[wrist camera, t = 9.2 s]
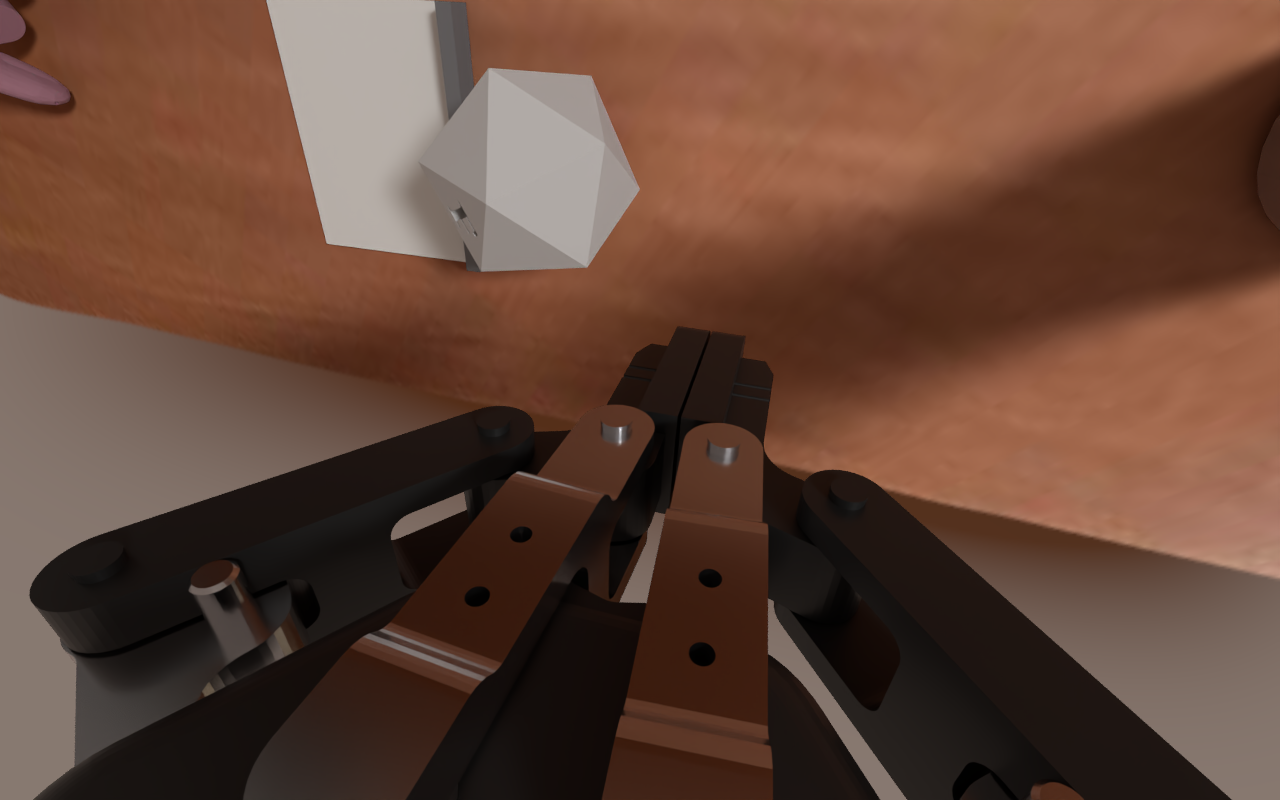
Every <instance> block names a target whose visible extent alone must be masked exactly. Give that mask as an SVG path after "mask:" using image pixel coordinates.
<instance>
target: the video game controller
mask: <svg viewBox="0 0 1280 800" xmlns="http://www.w3.org/2000/svg"><path fill="white" fill-rule="evenodd" d="M25 29H26V27H25V23H24V20H23V19H22V17H21V16H20V14H19V13H18V12H17V11H16V10H15V8H14V7H13V6H12V5H11V4H10V3H9V2H8V0H0V44H2V43H8V42H13V41H16V40H18V39H20V38H21V37H22V36H23V35H24V33H25ZM0 93H2V94H5V95H9V96H12V97H15V98H18V99H22V100H25V101H29V102H33V103H37V104H44V105H61V104H65V103H67V102H69V101H70V98H71V95H70V92H69V90H68V89H67V88H66V87H65V86H64V85H63V84H61V83H60V82H59V81H58V80H56V79H55V78H53V77H52V76H50V75H48V74H47V73H45V72H43V71H41V70H39V69H37V68H35V67H33V66H31V65H29V64H27V63H25V62H23V61H20V60H18V59H16V58H14V57H11V56H9V55H7V54H4V53H2V52H0Z"/></svg>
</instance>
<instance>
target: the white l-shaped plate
mask: <svg viewBox="0 0 1280 800" xmlns="http://www.w3.org/2000/svg"><path fill="white" fill-rule="evenodd" d="M266 1H267V5H268V9H269V13H270V17H271V21H272V25H273V29H274V33H275V37H276V41H277V45H278V49H279V53H280V57H281V61H282V65H283V69H284V73H285V77H286V81H287V86H288V90H289V94H290V98H291V102H292V106H293V110H294V114H295V118H296V122H297V126H298V130H299V134H300V138H301V142H302V146H303V150H304V154H305V158H306V162H307V166H308V170H309V174H310V178H311V182H312V186H313V190H314V194H315V198H316V202H317V206H318V210H319V214H320V218H321V222H322V226H323V230H324V234H325V238H326V242H327V244H333V245H341V246H348V247H356V248H363V249H371V250H378V251H386V252H393V253H401V254H409V255H416V256H424V257H431V258H439V259H446V260H454V261H461V262H466V268H467V271H475V272H481V270H480V269H479V267H478V265H477V263H476V262H475V260H474V258H473V256H472V255H471V253H470V251H469V250H468V248H467V246H466V244H465V243H464V241H463V239H462V237H461V236H460V234H459V232H458V230H457V229H456V227H455V225H454V223H453V222H452V220H451V218H450V216H449V215H448V213H447V211H446V209H445V208H444V206H443V204H442V202H441V201H440V199H439V197H438V196H437V194H436V192H435V190H434V189H433V187H432V185H431V183H430V182H429V180H428V178H427V176H426V175H425V173H424V171H423V169H422V168H421V166H420V164H419V162H418V161H419V159H420V158H421V157H422V156H423V154H424V153H425V152H426V150H427V149H428V148H429V146H430V145H431V144H432V142H433V141H434V140H435V138H436V137H437V136H438V134H439V133H440V132H441V130H442V129H443V128H444V126H445V125H446V124H447V123H448V121H449V120H450V119H451V117H452V116H453V115H454V113H455V112H456V111H457V109H458V108H459V107H460V105H461V104H462V103H463V101H464V100H465V99H466V97H467V96H468V95H469V93H470V92H471V91H472V90H473V88H474V83H473V73H472V63H471V52H470V42H469V32H468V21H467V11H466V3H463V2H444V1H425V0H266Z"/></svg>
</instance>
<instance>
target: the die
mask: <svg viewBox="0 0 1280 800" xmlns="http://www.w3.org/2000/svg"><path fill="white" fill-rule="evenodd" d="M418 162H419V164H420V166H421V168H422V169H423V171H424V173H425V175H426V176H427V178H428V180H429V182H430V183H431V185H432V187H433V189H434V190H435V192H436V194H437V196H438V197H439V199H440V201H441V202H442V204H443V206H444V208H445V209H446V211H447V213H448V215H449V216H450V218H451V220H452V222H453V223H454V225H455V227H456V229H457V230H458V232H459V234H460V236H461V237H462V239H463V241H464V243H465V244H466V246H467V248H468V250H469V251H470V253H471V255H472V256H473V258H474V260H475V262H476V263H477V265H478V267H479V269H480V270H481V272H482V271H509V270H535V269H561V268H587V267H588V265H589V264H590V262H591V261H592V259H593V258H594V256H595V255H596V254H597V252H598V251H599V249H600V248H601V246H602V245H603V243H604V242H605V240H606V239H607V237H608V236H609V234H610V233H611V231H612V230H613V228H614V227H615V225H616V224H617V222H618V221H619V220H620V218H621V217H622V215H623V214H624V212H625V211H626V209H627V208H628V206H629V205H630V203H631V202H632V200H633V199H634V197H635V196H636V194H637V193H638V191H639V190H640V189H639V186H638V184H637V182H636V179H635V177H634V175H633V172H632V170H631V168H630V165H629V163H628V161H627V158H626V156H625V154H624V151H623V149H622V147H621V144H620V142H619V140H618V137H617V135H616V133H615V130H614V128H613V126H612V123H611V121H610V119H609V116H608V114H607V112H606V109H605V107H604V105H603V102H602V100H601V98H600V95H599V93H598V91H597V88H596V86H595V84H594V81H593V79H592V77H591V76H586V75H573V74H560V73H547V72H534V71H521V70H508V69H494V68H488V70H487V71H486V72H485V74H484V75H483V76H482V78H481V79H480V80H479V82H478V83H477V84H476V86H475V87H474V88H473V90H472V91H471V92H470V93H469V95H468V96H467V97H466V99H465V100H464V101H463V103H462V104H461V105H460V107H459V108H458V109H457V111H456V112H455V113H454V115H453V116H452V117H451V119H450V120H449V121H448V123H447V124H446V125H445V126H444V128H443V129H442V130H441V132H440V133H439V134H438V136H437V137H436V138H435V140H434V141H433V142H432V144H431V145H430V146H429V148H428V149H427V150H426V152H425V153H424V154H423V156H422V157H421V158H420V159H419V161H418Z"/></svg>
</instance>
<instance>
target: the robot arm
mask: <svg viewBox="0 0 1280 800" xmlns="http://www.w3.org/2000/svg"><path fill="white" fill-rule="evenodd" d="M1257 183H1258V196H1259V199H1260V201H1261V204H1262V206H1263V209H1264V211H1265V214H1266V215H1267V216H1268V218H1269V219H1270V220H1271V221H1272V222H1273V223H1274V225H1275V226H1276V227H1277V228H1278V229H1279V230H1280V114H1279V116H1278V117H1277V119H1276V120H1275V122H1274V124H1273V126H1272V128H1271V130H1270V133H1269V135H1268V137H1267V139H1266V141H1265V143H1264V146H1263V148H1262V152H1261V157H1260V161H1259V166H1258V170H1257ZM744 344H745V336H740V335H734V334H727V333H721V332H714V331H713V332H712V334H711V332H710V331H707V330H700V329H693V328H687V327H680V326H678V327H677V329H676V331H675V333H674V335H673V337H672V339H671V341H670V343H669V345H668V346H663V345H656V344H650V345H649V346H647V347H645V348H644V349H642V350H640V351H639V352H637V353H636V354H635V356H634V358H633V360H632V361H631V363H630V365H629V367H628V368H627V370H626V372H625V374H624V377H622V379H621V381H620V383H619V384H618V386H617V388H616V390H615V391H614V393H613V395H612V397H611V398H610V400H609V402H608V404H607V405H605V406H600V407H597V408H594V409H592V410H590V411H588V412H587V413H585V414H584V415H583V416H582V417H581V418H580V420H579V421H578V422H577V424H576V425H575V426H574V427H573V429H572V430H568V431H549V432H534V423H533V420H532V418H531V417H530V416H529V415H528V414H527V413H526V412H524V411H522V410H520V409H517V408H513V407H507V406H492V407H486V408H481V409H478V410H475V411H472V412H469V413H466V414H463V415H460V416H457V417H454V418H451V419H448V420H445V421H442V422H439V423H436V424H432V425H429V426H426V427H423V428H420V429H417V430H415V431H411V432H408V433H405V434H402V435H399V436H396V437H393V438H391V439H387V440H384V441H381V442H378V443H375V444H372V445H369V446H366V447H363V448H360V449H357V450H354V451H351V452H348V453H345V454H342V455H339V456H336V457H333V458H330V459H327V460H324V461H321V462H318V463H315V464H312V465H309V466H306V467H303V468H300V469H297V470H294V471H291V472H288V473H285V474H282V475H279V476H276V477H273V478H270V479H267V480H264V481H261V482H258V483H255V484H252V485H249V486H246V487H243V488H240V489H237V490H234V491H231V492H228V493H225V494H222V495H219V496H216V497H212V498H209V499H207V500H203V501H201V502H197V503H194V504H191V505H189V506H185V507H183V508H179V509H176V510H173V511H170V512H167V513H164V514H161V515H158V516H155V517H152V518H149V519H146V520H143V521H140V522H137V523H134V524H131V525H128V526H125V527H122V528H119V529H117V530H113V531H110V532H107V533H104V534H101V535H98V536H96V537H93V538H90V539H88V540H86V541H83V542H81V543H79V544H77V545H75V546H73V547H72V548H70V549H68V550H67V551H65V552H63V553H62V554H60V555H59V556H58V557H56V558H55V559H54V560H52V561H51V562H50V563H49V564H48V565H47V566H45V567H44V568H43V570H42V571H41V572H40V573H39V574H38V575H37V577H36V578H35V580H34V581H33V583H32V586H31V588H30V599H31V602H32V603H33V604H34V605H35V607H36V608H37V609H38V611H39V612H40V613H41V614H42V616H43V617H44V618H45V619H46V621H47V622H48V623H49V624H50V626H51V627H52V628H53V630H54V631H55V632H56V633H57V635H58V636H59V637H60V642H61V645H62V647H63V649H64V650H65V651H66V652H67V654H68V655H69V656H70V657H71V659H72V660H73V661H74V663H75V664H76V666H77V667H76V717H75V721H76V722H75V767H74V768H72V769H70V770H69V771H68V772H66V773H65V774H64V775H63V776H61V777H60V778H59V779H57V780H56V781H55V782H53V783H52V784H51V785H49V786H48V787H47V788H46V789H45V790H44V791H42V792H41V793H40V794H39V795H38V796H37V797H36V798H35V799H34V800H880V799H879V797H878V796H877V794H876V793H875V791H874V789H873V788H872V786H871V785H870V783H869V782H868V780H867V779H866V777H865V776H864V774H863V772H862V771H861V770H860V768H859V766H858V765H857V763H856V762H855V760H854V759H853V757H852V755H851V754H850V752H849V751H848V749H847V748H846V746H845V745H844V743H843V742H842V740H841V739H840V737H839V735H838V734H837V732H836V731H835V729H834V728H833V726H832V725H831V723H830V722H829V720H828V718H827V717H826V715H825V714H824V712H823V711H822V709H821V708H820V706H819V705H818V704H817V702H816V701H815V699H814V698H813V696H812V695H811V694H810V693H809V692H808V691H807V689H806V688H805V687H804V686H803V684H802V683H801V682H800V681H799V680H798V679H797V678H796V677H795V676H794V675H793V674H792V673H791V672H790V671H789V670H788V669H787V668H786V667H785V666H783V665H782V664H781V663H780V662H778V661H777V660H776V659H775V658H773V657H772V656H770V655H769V654H768V598H769V599H771V600H773V601H774V609H775V614H776V616H777V618H778V620H779V622H780V623H781V625H782V626H783V628H784V629H785V630H786V632H787V633H788V635H789V636H790V637H791V639H792V640H793V641H794V643H795V644H796V646H797V647H798V649H799V650H800V651H801V653H802V654H803V655H804V657H805V658H806V660H807V661H808V662H809V664H810V665H811V667H812V668H813V669H814V671H815V672H816V674H817V675H818V676H819V678H820V679H821V680H822V682H823V683H824V685H825V686H826V687H827V689H828V690H829V692H830V693H831V694H832V696H833V697H834V699H835V700H836V701H837V703H838V704H839V705H840V707H841V708H842V710H843V711H844V712H845V714H846V715H847V717H848V718H849V719H850V721H851V722H852V724H853V725H854V726H855V728H856V729H857V731H858V732H859V733H860V735H861V736H862V737H863V739H864V740H865V742H866V743H867V744H868V746H869V747H870V749H871V750H872V751H873V753H874V754H875V756H876V757H877V758H878V760H879V761H880V762H881V764H882V765H883V767H884V768H885V769H886V771H887V772H888V773H889V775H890V776H891V778H892V779H893V781H894V782H895V783H896V785H897V786H898V788H899V789H900V790H901V792H902V793H903V795H904V796H905V797H906V799H907V800H1231V799H1230V798H1229V797H1228V796H1227V795H1226V794H1225V793H1224V792H1222V791H1221V790H1220V789H1219V788H1218V787H1217V786H1216V785H1215V784H1213V783H1212V782H1211V781H1210V780H1209V779H1208V778H1207V777H1206V776H1204V775H1203V774H1202V773H1201V772H1200V771H1199V770H1198V769H1197V768H1195V767H1194V766H1193V765H1192V764H1191V763H1190V762H1189V761H1188V760H1186V759H1185V758H1184V757H1183V756H1182V755H1181V754H1180V753H1179V752H1177V751H1176V750H1175V749H1174V748H1173V747H1172V746H1171V745H1169V743H1167V742H1166V741H1165V740H1164V739H1163V738H1162V737H1161V736H1160V735H1158V734H1157V733H1156V732H1155V731H1154V730H1153V729H1152V728H1151V727H1149V726H1148V725H1147V724H1146V723H1145V722H1144V721H1142V720H1141V719H1140V718H1139V717H1138V716H1137V715H1136V714H1135V713H1134V712H1133V711H1131V710H1130V709H1129V708H1128V707H1127V706H1126V705H1125V704H1123V703H1122V702H1121V701H1120V700H1119V699H1118V698H1117V697H1116V696H1115V695H1113V694H1112V693H1111V692H1110V691H1109V690H1108V689H1107V688H1106V687H1104V686H1103V685H1102V684H1101V683H1100V682H1099V681H1098V680H1097V679H1095V678H1094V677H1093V676H1092V675H1091V674H1090V673H1089V672H1088V671H1086V670H1085V669H1084V668H1083V667H1082V666H1081V665H1080V664H1079V663H1077V662H1076V661H1075V660H1074V659H1073V658H1072V657H1071V656H1069V655H1068V654H1067V653H1066V652H1065V651H1064V650H1063V649H1062V648H1060V647H1059V646H1058V645H1057V644H1056V643H1055V642H1054V641H1053V640H1052V639H1051V638H1049V637H1048V636H1047V635H1046V634H1045V633H1044V632H1043V631H1042V630H1040V629H1039V628H1038V627H1037V626H1036V625H1035V624H1034V623H1032V622H1031V621H1030V620H1029V619H1028V618H1027V617H1026V616H1025V615H1024V614H1022V613H1021V612H1020V611H1019V610H1018V609H1017V608H1016V607H1015V606H1013V605H1012V604H1011V603H1010V602H1009V601H1008V600H1007V599H1006V598H1004V597H1003V596H1002V595H1001V594H1000V593H999V592H998V591H996V590H995V589H994V588H993V587H992V586H991V585H990V584H989V583H987V582H986V581H985V580H984V579H983V578H982V577H981V576H980V575H979V574H977V573H976V572H975V571H974V570H973V569H972V568H971V567H970V566H968V565H967V564H966V563H965V562H964V561H963V560H962V559H960V557H958V556H957V555H956V554H955V553H954V552H953V551H952V550H950V549H949V548H948V547H947V546H946V545H945V544H944V543H943V542H941V541H940V540H939V539H938V538H937V537H936V536H935V535H934V534H933V533H931V532H930V531H929V530H928V529H927V528H926V527H925V526H923V525H922V524H921V523H920V522H919V521H918V520H917V519H916V518H914V517H913V516H912V515H911V514H910V513H909V512H908V511H907V510H905V509H904V508H903V507H902V506H901V505H900V504H899V503H898V502H897V501H895V500H894V499H893V498H892V497H891V496H890V495H889V494H888V493H886V492H885V491H884V490H883V489H882V488H881V487H880V486H878V485H877V484H876V483H874V482H873V481H871V480H869V479H867V478H865V477H863V476H861V475H858V474H855V473H852V472H848V471H842V470H824V471H819V472H817V473H814V474H812V475H811V476H809V477H808V478H807V479H806V480H805V481H803V480H801V479H799V478H796V477H794V476H791V475H790V474H787V473H786V472H784V471H782V470H781V469H779V468H778V467H777V466H776V465H774V464H773V463H772V462H771V461H770V459H769V458H768V457H767V455H766V453H765V451H764V436H765V429H766V422H767V416H768V409H769V401H770V395H771V388H772V381H773V373H772V372H771V370H770V368H769V367H768V365H767V364H766V362H764V361H758V360H752V359H745V358H742V357H743V351H744ZM462 492H464V494H465V500H466V506H467V510H465V511H463V512H461V513H458V514H456V515H453V516H451V517H449V518H446V519H444V520H442V521H439V522H437V523H434V524H432V525H430V526H427V527H425V528H423V529H420V530H418V531H416V532H413V533H411V534H409V535H406V536H404V537H401V538H399V539H396V540H391V532H392V529H393V527H394V526H395V524H396V523H397V522H398V521H399V520H400V519H401V518H403V517H404V516H406V515H408V514H410V513H412V512H414V511H417V510H420V509H422V508H425V507H427V506H430V505H432V504H435V503H437V502H439V501H442V500H444V499H447V498H449V497H452V496H454V495H457V494H459V493H462ZM655 512H658V513H663V514H665V518H664V522H663V528H662V532H661V537H660V542H659V546H658V551H657V556H656V560H655V565H654V570H653V574H652V579H651V584H650V589H649V593H648V598H647V603H623V602H622V603H621V602H620V600H621V598H622V595H623V593H624V591H625V589H626V586H627V584H628V582H629V580H630V578H631V576H632V573H633V571H634V569H635V567H636V565H637V562H638V560H639V558H640V556H641V554H642V551H643V549H644V547H645V545H646V542H647V534H648V528H649V526H650V524H651V522H652V519H653V516H654V513H655Z"/></svg>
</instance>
